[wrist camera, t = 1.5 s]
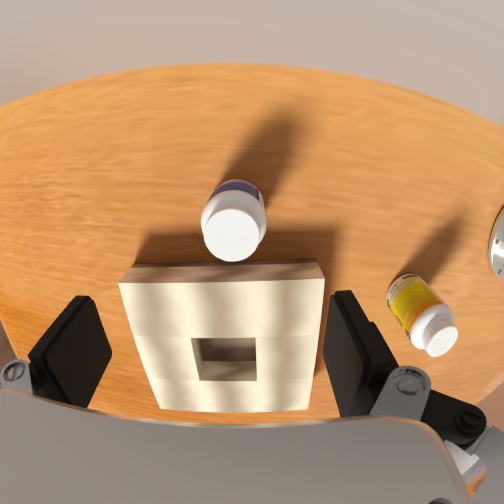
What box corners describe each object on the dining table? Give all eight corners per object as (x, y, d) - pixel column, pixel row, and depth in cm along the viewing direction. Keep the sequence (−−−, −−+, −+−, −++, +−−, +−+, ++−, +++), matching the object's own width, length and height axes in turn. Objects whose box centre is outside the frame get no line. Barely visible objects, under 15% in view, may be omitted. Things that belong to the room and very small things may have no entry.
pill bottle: (200, 195, 28) (179, 221, 20) (247, 168, 27) (245, 183, 19) (227, 239, 30) (219, 281, 22) (273, 215, 29) (282, 249, 21)
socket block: (315, 258, 31) (324, 278, 27) (303, 385, 38) (307, 409, 34) (133, 263, 31) (118, 283, 27) (166, 385, 39) (160, 408, 34)
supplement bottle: (376, 300, 33) (410, 355, 23) (403, 264, 31) (448, 311, 22) (403, 316, 34) (438, 367, 25) (429, 283, 32) (472, 328, 23)
